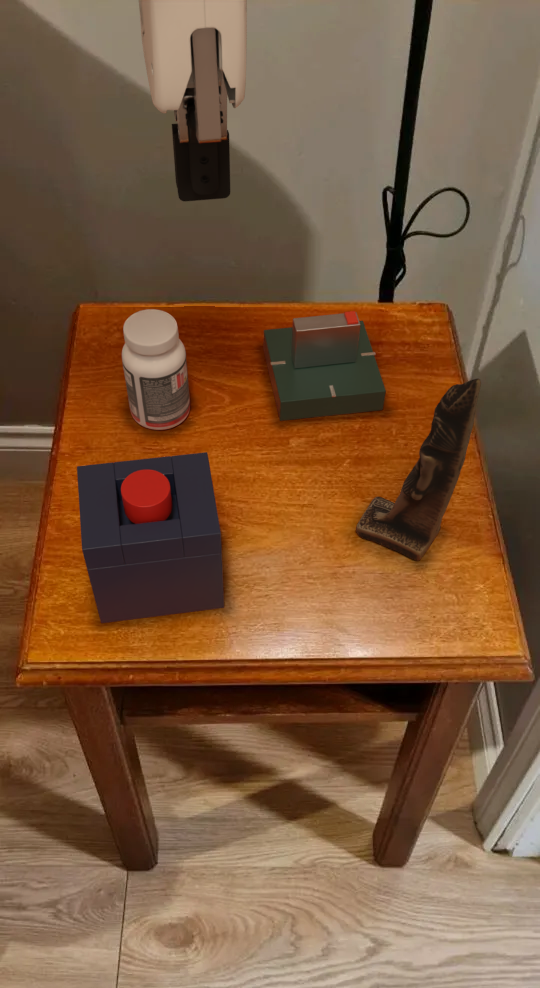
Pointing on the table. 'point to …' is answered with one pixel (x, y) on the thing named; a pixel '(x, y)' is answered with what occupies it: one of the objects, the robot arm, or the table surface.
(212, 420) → the table surface
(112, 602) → the button box
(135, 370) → the pill bottle
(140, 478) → the red button
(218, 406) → the table surface
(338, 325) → the tap handle
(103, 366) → the table surface
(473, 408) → the statue
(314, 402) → the panel
